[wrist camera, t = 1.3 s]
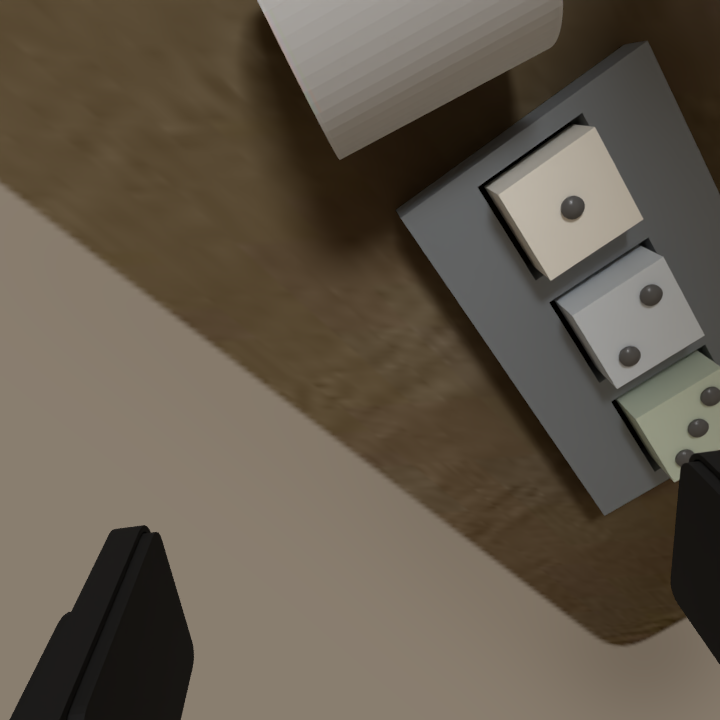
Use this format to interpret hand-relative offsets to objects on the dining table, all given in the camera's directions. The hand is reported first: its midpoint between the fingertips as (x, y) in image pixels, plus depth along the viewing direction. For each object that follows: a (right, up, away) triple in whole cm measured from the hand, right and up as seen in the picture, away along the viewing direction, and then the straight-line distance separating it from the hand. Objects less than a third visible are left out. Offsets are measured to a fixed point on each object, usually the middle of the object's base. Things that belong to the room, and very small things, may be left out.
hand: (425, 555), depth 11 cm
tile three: (+18, +1, +27) cm, 32 cm away
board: (+13, +7, +26) cm, 30 cm away
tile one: (+9, +12, +22) cm, 27 cm away
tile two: (+13, +6, +25) cm, 29 cm away
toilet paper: (0, +21, +20) cm, 29 cm away
